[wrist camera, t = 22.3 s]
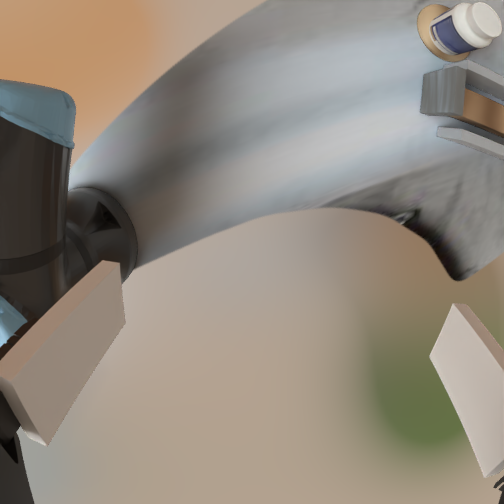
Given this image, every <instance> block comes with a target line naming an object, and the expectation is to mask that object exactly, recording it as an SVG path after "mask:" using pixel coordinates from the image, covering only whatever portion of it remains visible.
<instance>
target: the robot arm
mask: <svg viewBox="0 0 504 504" xmlns="http://www.w3.org/2000/svg"><path fill="white" fill-rule="evenodd" d="M75 115H76V106H75V103H74V100H73V99H72V97H71V96H70V95H69V94H67V93H65V92H64V91H61V90H57V89H53V88H49V87H45V86H40V85H35V84H30V83H24V82H17V81H10V80H2V79H0V504H34V501H33V497H32V493H31V490H30V486H29V482H28V478H27V474H26V470H25V466H24V461H23V456H22V451H21V446H20V440H19V437H18V435H17V433H16V431H17V430H18V429H19V427H20V426H21V427H22V429H23V430H24V432H25V433H26V435H27V436H28V437H29V438H31V439H33V440H35V441H37V442H39V443H41V444H43V445H45V446H48V445H49V443H50V442H51V440H52V438H53V436H54V435H55V433H56V431H57V429H58V428H59V426H60V424H61V423H62V421H63V420H64V418H65V416H66V415H67V413H68V411H69V410H70V408H71V406H72V405H73V403H74V401H75V399H76V398H77V396H78V395H79V393H80V392H81V390H82V389H83V387H84V385H85V384H86V382H87V381H88V379H89V378H90V376H91V374H92V373H93V371H94V370H95V368H96V367H97V365H98V364H99V362H100V360H101V359H102V357H103V356H104V354H105V353H106V351H107V350H108V348H109V347H110V345H111V344H112V342H113V341H114V339H115V338H116V336H117V335H118V334H119V332H120V330H121V329H122V328H123V326H124V325H125V314H124V305H123V297H122V283H123V282H124V281H125V280H126V279H127V278H128V277H129V275H130V274H131V272H132V270H133V268H134V266H135V263H136V258H137V240H136V235H135V231H134V228H133V225H132V223H131V221H130V219H129V217H128V215H127V214H126V212H125V211H124V209H123V208H122V207H121V206H120V204H119V203H118V202H117V201H116V200H114V199H113V198H112V197H111V196H109V195H108V194H106V193H104V192H102V191H100V190H98V189H94V188H89V187H81V188H76V189H73V190H70V191H68V183H69V171H70V162H71V154H72V149H74V142H73V135H74V124H75ZM429 357H430V359H431V361H432V363H433V365H434V366H435V368H436V370H437V372H438V374H439V376H440V378H441V380H442V382H443V384H444V386H445V388H446V390H447V392H448V394H449V397H450V399H451V401H452V403H453V405H454V407H455V409H456V411H457V414H458V416H459V418H460V420H461V422H462V425H463V427H464V429H465V431H466V434H467V436H468V438H469V441H470V443H471V446H472V448H473V450H474V453H475V455H476V458H477V460H478V463H479V465H480V468H481V470H482V473H483V476H484V478H486V477H488V476H492V475H495V474H498V473H500V472H501V471H502V470H503V469H504V351H503V349H502V348H501V347H500V345H499V344H498V343H497V341H496V340H495V339H494V338H493V336H492V335H491V334H490V332H489V331H488V330H487V329H486V327H485V326H484V325H483V324H482V323H481V321H480V320H479V319H478V318H477V316H476V315H475V314H474V313H473V312H472V310H471V309H470V308H469V307H468V306H467V305H466V304H456V303H453V304H452V307H451V309H450V312H449V314H448V316H447V319H446V321H445V323H444V326H443V328H442V330H441V333H440V335H439V337H438V339H437V341H436V343H435V345H434V348H433V350H432V352H431V354H430V356H429ZM502 482H504V476H503V477H502V478H501V479H500V480H499V481H498V482H496V484H495V485H494V488H497V487H498V486H499V485H500V484H501V483H502ZM499 490H500V491H502V494H501V497H500V500H499V504H504V485H502V486H501V487H500V488H499Z"/></svg>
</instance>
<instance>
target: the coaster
mask: <svg viewBox="0 0 504 504" xmlns="http://www.w3.org/2000/svg"><path fill="white" fill-rule="evenodd" d="M449 9H450V8H448V7H445V6H442V5H437V4H434V5H429V6H427V7H425V8H424V9H423V10H422V11H421V12H420V13H419V15H418V18H417V28H418V32H419V35H420V37H421V39H422V41H423V43H424V44H425V46H426V47H427V48H428V49H429V50H430V51H431V52H432V53H433V54H434V55H436V56H437V57H439V58H440V59H442V60H445V61H449V62H458V61H461V60H463V59H465V58H466V57H467V56H468V55H469V53H470V52H466V53H462V54H459V55H448V54H446V53H444V52H442V51H441V50H439V49H438V48H437V47H436V46H435V44H434V43H433V41H432V40H431V37H430V34H429V25H430V23H431V21H432V20H433V19H434V18H436V17H437V16H439V15H440V14H442V13H444V12H446V11H447V10H449Z"/></svg>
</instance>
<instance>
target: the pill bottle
mask: <svg viewBox="0 0 504 504" xmlns="http://www.w3.org/2000/svg"><path fill="white" fill-rule="evenodd" d="M501 32H502V25H501V21H500V19H499V17H498V15H497V13H496V12H495V11H494V10H493V9H492V8H491V7H490V6H489V5H487V4H485V3H483V2H477V3H474V4H470V3H460V4H458V5H456V6H454V7H453V8H451V9H449V10H447V11H446V12H444V13H442V14H440V15H439V16H437V17H436V18H434V19H433V20H432V21H431V23H430V25H429V34H430V37H431V40H432V41H433V43H434V44H435V46H436V47H437V48H438V49H439V50H441V51H442V52H444V53H446V54H448V55H459V54H462V53H466V52H470V51H473V50H476V49H481V48H484V47H487V46H488V45H490V43H491V42H492V40H493V38H495V37H498V36H499V35H500V34H501Z"/></svg>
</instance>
